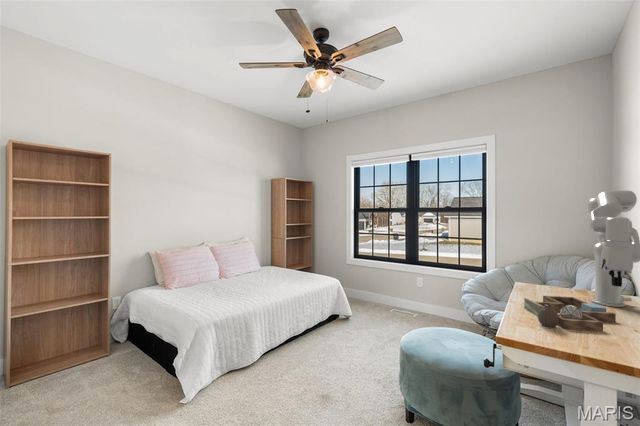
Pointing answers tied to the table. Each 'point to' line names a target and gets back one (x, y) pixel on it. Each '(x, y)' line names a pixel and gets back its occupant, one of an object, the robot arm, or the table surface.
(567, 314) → the game die
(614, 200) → the robot arm
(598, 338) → the table surface
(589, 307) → the slate block
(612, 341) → the table surface
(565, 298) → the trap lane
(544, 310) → the vase
